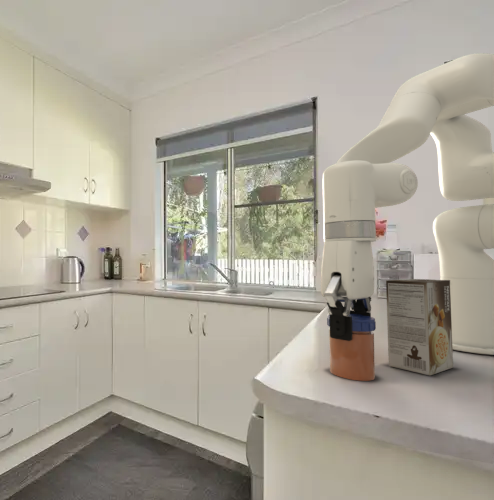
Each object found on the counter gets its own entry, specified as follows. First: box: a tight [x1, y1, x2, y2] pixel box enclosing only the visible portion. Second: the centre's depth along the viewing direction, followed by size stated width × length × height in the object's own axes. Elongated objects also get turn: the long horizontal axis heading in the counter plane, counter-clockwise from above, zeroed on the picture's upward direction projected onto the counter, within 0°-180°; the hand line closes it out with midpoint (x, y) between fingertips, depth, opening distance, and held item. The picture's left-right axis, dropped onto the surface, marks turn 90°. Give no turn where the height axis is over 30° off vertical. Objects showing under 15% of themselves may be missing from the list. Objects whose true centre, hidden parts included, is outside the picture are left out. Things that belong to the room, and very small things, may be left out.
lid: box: [326, 313, 377, 332], centre depth 58 cm, size 7×7×2 cm
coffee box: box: [385, 278, 454, 376], centre depth 62 cm, size 9×6×16 cm
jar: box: [328, 327, 376, 382], centre depth 58 cm, size 6×6×9 cm
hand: (350, 335), depth 58 cm, fingers closed on lid, 6 cm apart
